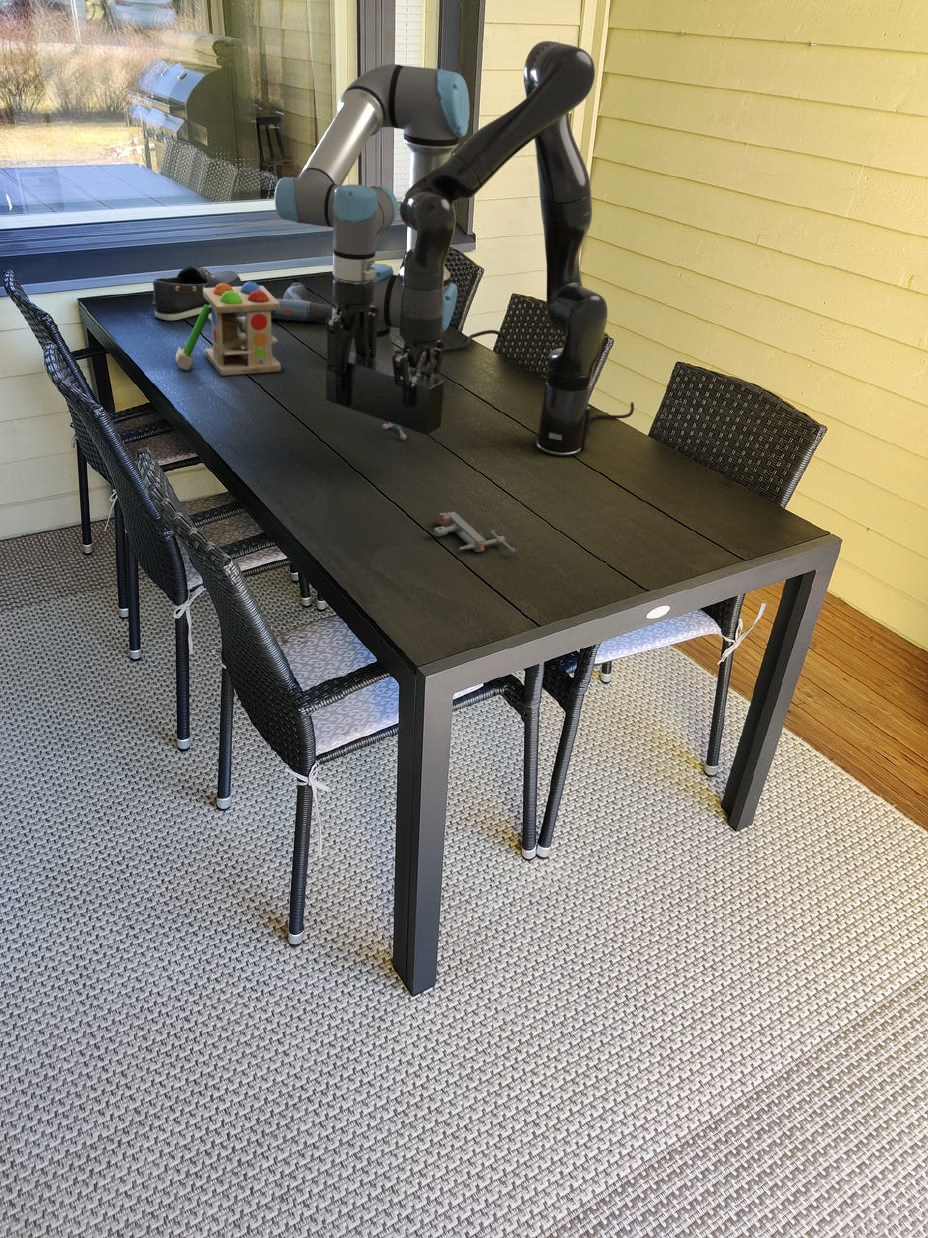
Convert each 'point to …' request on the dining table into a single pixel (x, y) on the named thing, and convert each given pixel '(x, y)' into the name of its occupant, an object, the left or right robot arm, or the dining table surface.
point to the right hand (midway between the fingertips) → (416, 401)
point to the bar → (389, 394)
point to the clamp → (466, 533)
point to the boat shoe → (187, 291)
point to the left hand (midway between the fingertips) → (351, 399)
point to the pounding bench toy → (229, 347)
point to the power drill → (301, 306)
